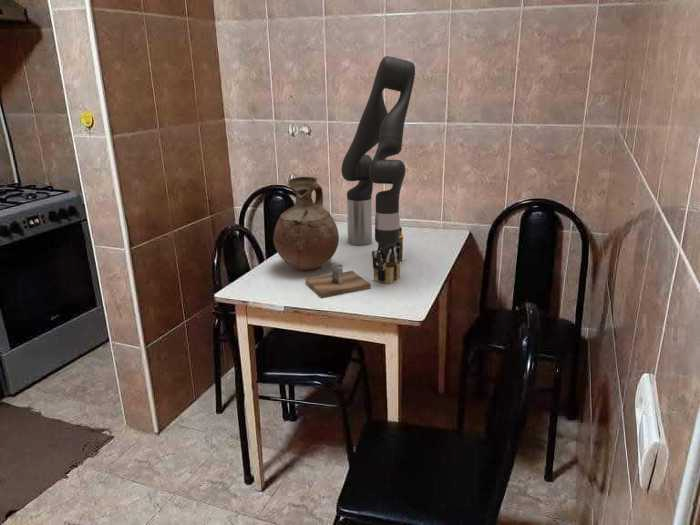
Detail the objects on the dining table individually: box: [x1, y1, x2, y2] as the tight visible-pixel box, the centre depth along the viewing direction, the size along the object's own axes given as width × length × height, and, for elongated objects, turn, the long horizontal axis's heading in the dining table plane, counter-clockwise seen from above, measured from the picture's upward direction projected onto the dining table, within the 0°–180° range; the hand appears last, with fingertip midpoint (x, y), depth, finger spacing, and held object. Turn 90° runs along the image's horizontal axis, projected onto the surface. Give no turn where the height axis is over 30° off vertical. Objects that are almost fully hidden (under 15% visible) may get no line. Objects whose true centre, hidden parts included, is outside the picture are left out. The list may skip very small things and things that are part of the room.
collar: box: [373, 261, 401, 285], centre depth 167 cm, size 6×6×5 cm
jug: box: [272, 175, 340, 273], centre depth 175 cm, size 22×22×30 cm
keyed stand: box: [305, 263, 372, 299], centre depth 162 cm, size 13×16×6 cm
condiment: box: [381, 226, 408, 264], centre depth 183 cm, size 7×8×12 cm
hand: (387, 277), depth 167 cm, fingers closed on collar, 6 cm apart
